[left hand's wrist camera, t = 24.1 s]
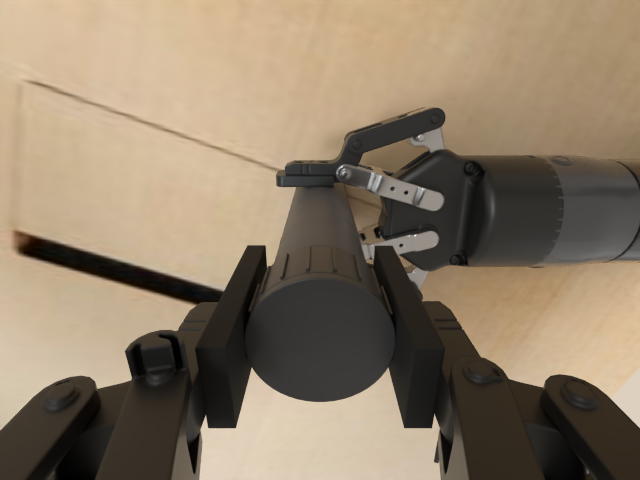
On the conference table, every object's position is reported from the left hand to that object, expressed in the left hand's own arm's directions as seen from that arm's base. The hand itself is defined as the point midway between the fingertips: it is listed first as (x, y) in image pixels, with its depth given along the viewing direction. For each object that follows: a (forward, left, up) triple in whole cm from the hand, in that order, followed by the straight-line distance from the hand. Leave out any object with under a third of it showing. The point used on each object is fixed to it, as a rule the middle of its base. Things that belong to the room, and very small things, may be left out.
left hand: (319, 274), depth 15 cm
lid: (0, 0, +4) cm, 4 cm away
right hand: (-2, +1, -9) cm, 10 cm away
